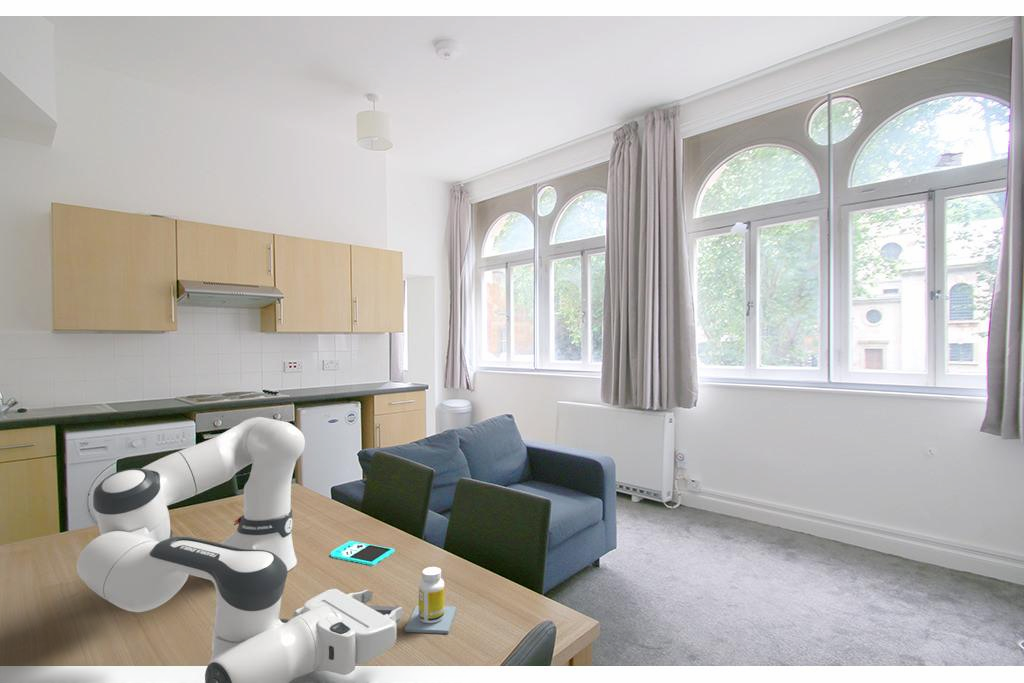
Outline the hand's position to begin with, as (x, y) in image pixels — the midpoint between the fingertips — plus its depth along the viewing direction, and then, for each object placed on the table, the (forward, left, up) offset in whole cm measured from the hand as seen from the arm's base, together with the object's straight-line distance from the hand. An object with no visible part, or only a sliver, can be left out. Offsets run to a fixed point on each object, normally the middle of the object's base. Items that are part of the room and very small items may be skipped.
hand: (385, 602), depth 93 cm
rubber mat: (+7, +10, -9) cm, 15 cm away
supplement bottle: (+7, +10, -8) cm, 15 cm away
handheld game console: (-21, +41, -10) cm, 47 cm away
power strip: (-14, +6, -9) cm, 18 cm away
